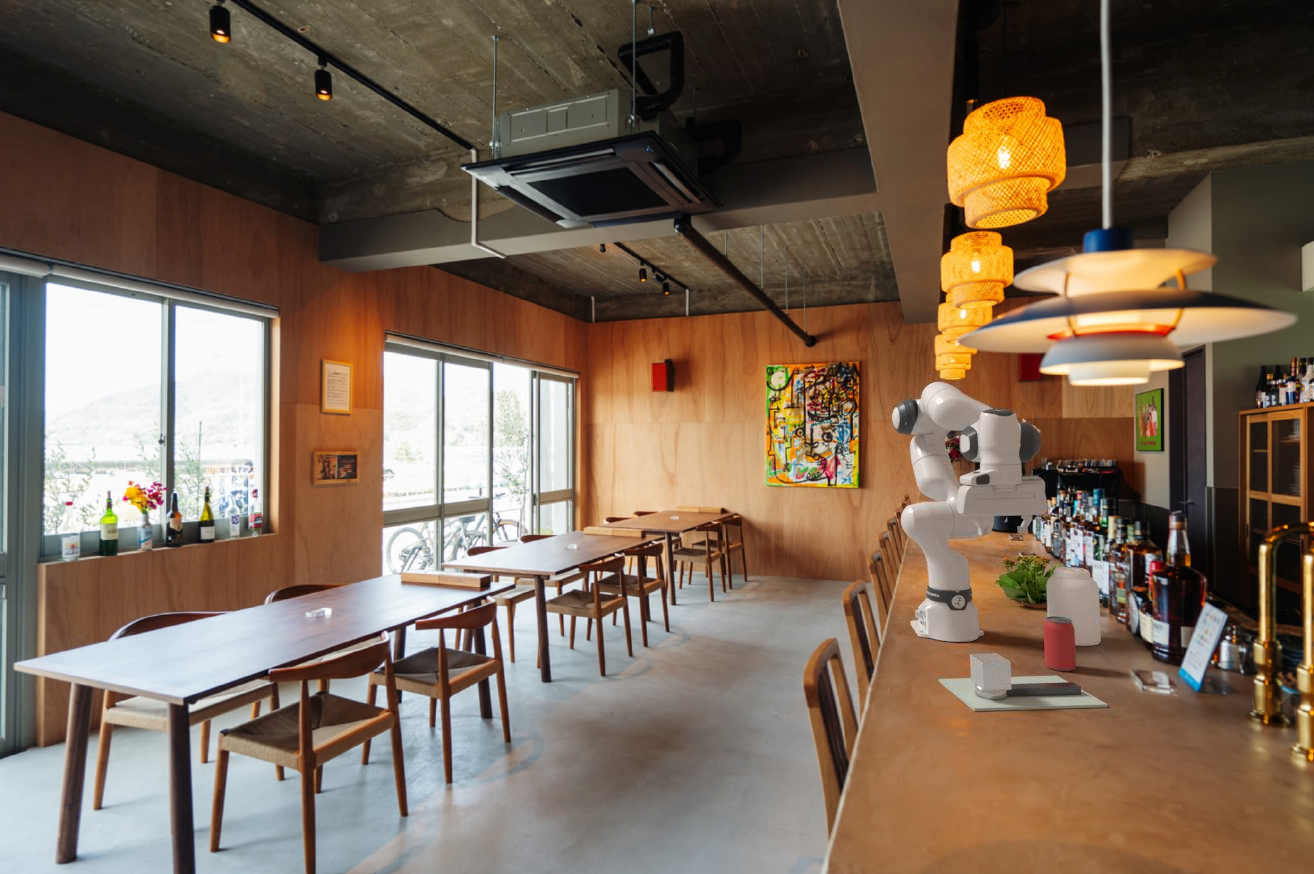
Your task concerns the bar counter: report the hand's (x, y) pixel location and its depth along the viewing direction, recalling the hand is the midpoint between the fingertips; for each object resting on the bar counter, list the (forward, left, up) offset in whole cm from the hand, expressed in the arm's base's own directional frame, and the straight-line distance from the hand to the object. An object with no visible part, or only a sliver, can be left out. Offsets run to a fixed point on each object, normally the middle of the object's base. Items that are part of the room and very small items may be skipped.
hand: (1002, 534), depth 162 cm
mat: (+10, -3, -34) cm, 36 cm away
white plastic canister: (-28, +33, -34) cm, 55 cm away
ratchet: (+12, -2, -33) cm, 36 cm away
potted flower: (-68, +46, -34) cm, 89 cm away
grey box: (+12, -10, -31) cm, 35 cm away
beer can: (-6, +16, -34) cm, 38 cm away
